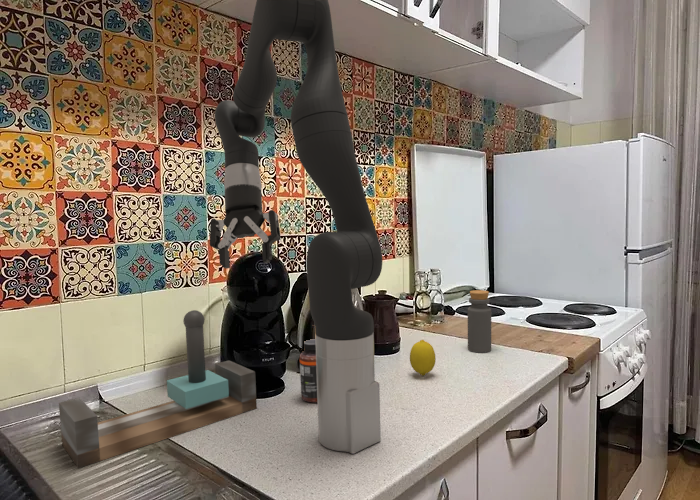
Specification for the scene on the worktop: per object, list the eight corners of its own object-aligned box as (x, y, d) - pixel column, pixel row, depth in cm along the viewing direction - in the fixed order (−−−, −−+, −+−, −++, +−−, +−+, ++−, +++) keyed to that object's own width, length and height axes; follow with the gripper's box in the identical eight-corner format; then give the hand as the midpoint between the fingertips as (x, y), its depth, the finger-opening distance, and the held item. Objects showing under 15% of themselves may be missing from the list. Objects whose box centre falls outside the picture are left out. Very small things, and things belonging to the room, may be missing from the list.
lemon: (434, 371, 109) (434, 336, 108) (436, 380, 103) (436, 343, 103) (409, 371, 109) (409, 336, 109) (410, 380, 104) (409, 343, 103)
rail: (230, 394, 99) (228, 360, 98) (256, 408, 91) (255, 371, 91) (62, 445, 79) (58, 402, 78) (78, 468, 71) (74, 422, 71)
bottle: (463, 348, 126) (462, 291, 125) (481, 345, 128) (480, 288, 127) (477, 354, 121) (477, 294, 119) (496, 350, 123) (496, 292, 122)
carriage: (208, 385, 94) (204, 304, 93) (228, 396, 88) (224, 310, 87) (167, 396, 89) (162, 311, 87) (186, 409, 83) (181, 317, 82)
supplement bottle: (331, 391, 99) (329, 336, 98) (332, 403, 93) (330, 344, 92) (301, 392, 98) (299, 337, 97) (300, 404, 92) (298, 346, 91)
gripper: (202, 188, 99) (204, 266, 95) (269, 177, 97) (274, 256, 93) (218, 200, 106) (220, 273, 102) (281, 190, 104) (285, 264, 100)
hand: (246, 265), depth 98 cm, fingers open, 8 cm apart
